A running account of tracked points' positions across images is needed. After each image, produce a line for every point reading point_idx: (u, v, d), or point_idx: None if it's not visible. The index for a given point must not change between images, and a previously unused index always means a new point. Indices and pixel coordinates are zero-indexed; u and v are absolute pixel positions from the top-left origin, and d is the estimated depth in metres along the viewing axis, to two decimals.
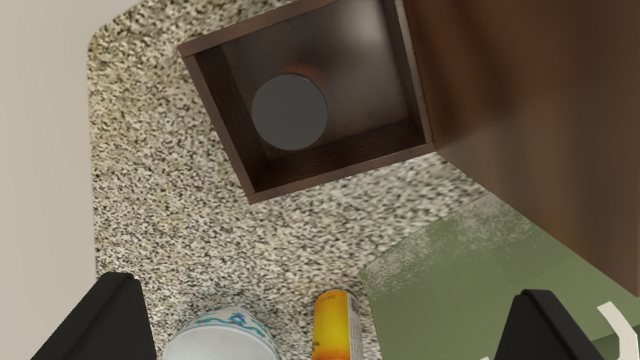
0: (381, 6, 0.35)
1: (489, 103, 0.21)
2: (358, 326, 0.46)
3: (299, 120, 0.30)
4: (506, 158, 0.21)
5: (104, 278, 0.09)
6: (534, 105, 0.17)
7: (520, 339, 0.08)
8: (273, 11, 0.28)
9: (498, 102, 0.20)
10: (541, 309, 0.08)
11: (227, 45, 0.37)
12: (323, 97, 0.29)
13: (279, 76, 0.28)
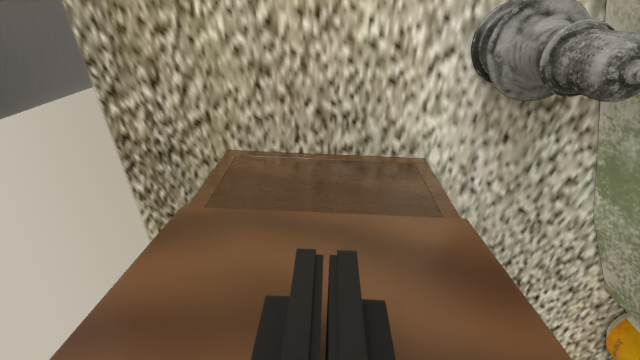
0: None
1: None
2: None
3: None
4: None
5: (300, 253, 0.10)
6: None
7: (328, 293, 0.10)
8: None
9: None
10: (341, 266, 0.09)
11: None
12: None
13: None
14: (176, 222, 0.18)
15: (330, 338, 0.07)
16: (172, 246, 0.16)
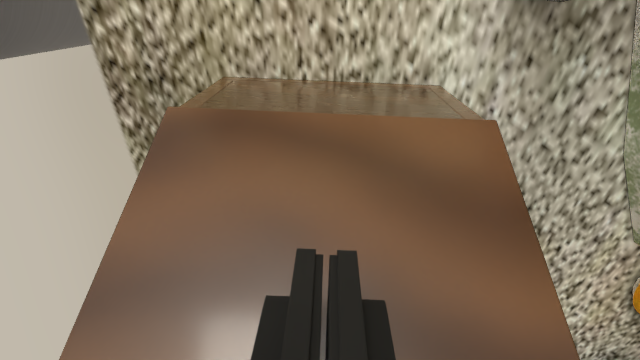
0: None
1: None
2: None
3: None
4: None
5: (300, 253, 0.10)
6: None
7: (328, 293, 0.10)
8: None
9: None
10: (341, 266, 0.09)
11: None
12: None
13: None
14: (164, 134, 0.16)
15: (330, 338, 0.07)
16: (165, 175, 0.15)
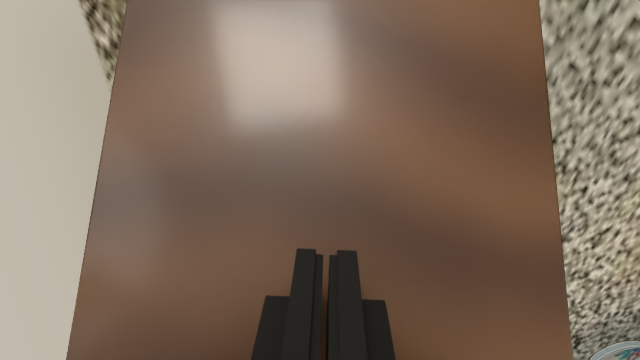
0: None
1: None
2: None
3: None
4: None
5: (300, 253, 0.10)
6: None
7: (328, 293, 0.10)
8: None
9: None
10: (341, 266, 0.09)
11: None
12: None
13: None
14: (136, 5, 0.14)
15: (330, 338, 0.07)
16: (147, 61, 0.13)
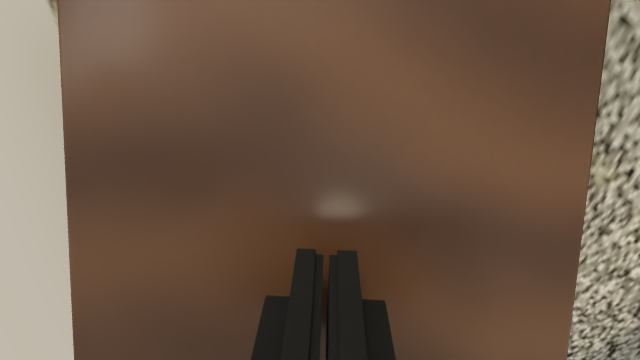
0: None
1: None
2: None
3: None
4: None
5: (300, 253, 0.10)
6: None
7: (328, 293, 0.10)
8: None
9: None
10: (341, 266, 0.09)
11: None
12: None
13: None
14: None
15: (330, 338, 0.07)
16: None
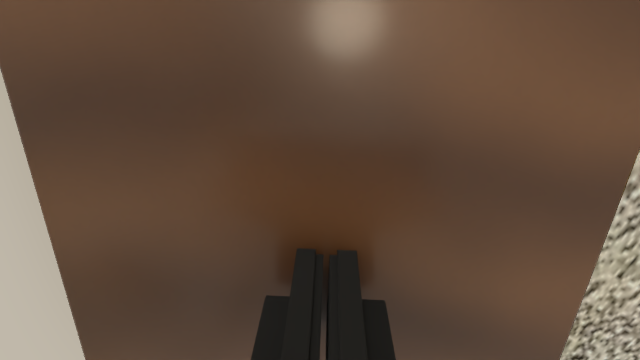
0: None
1: None
2: None
3: None
4: None
5: (300, 253, 0.10)
6: None
7: (328, 293, 0.10)
8: None
9: None
10: (341, 266, 0.09)
11: None
12: None
13: None
14: None
15: (330, 338, 0.07)
16: None
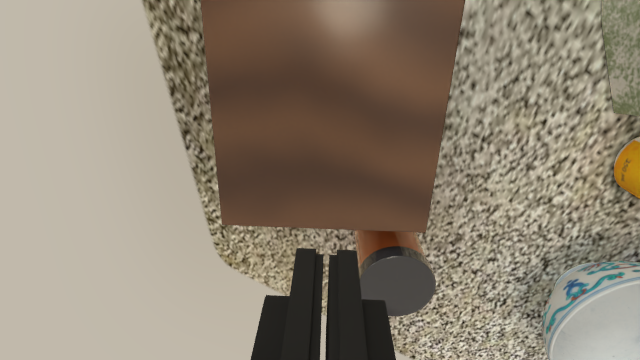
0: None
1: None
2: None
3: (406, 282, 0.29)
4: None
5: (300, 253, 0.10)
6: None
7: (328, 293, 0.10)
8: None
9: None
10: (341, 266, 0.09)
11: None
12: (395, 257, 0.28)
13: None
14: None
15: (330, 338, 0.07)
16: (219, 3, 0.21)
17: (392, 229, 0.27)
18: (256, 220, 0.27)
